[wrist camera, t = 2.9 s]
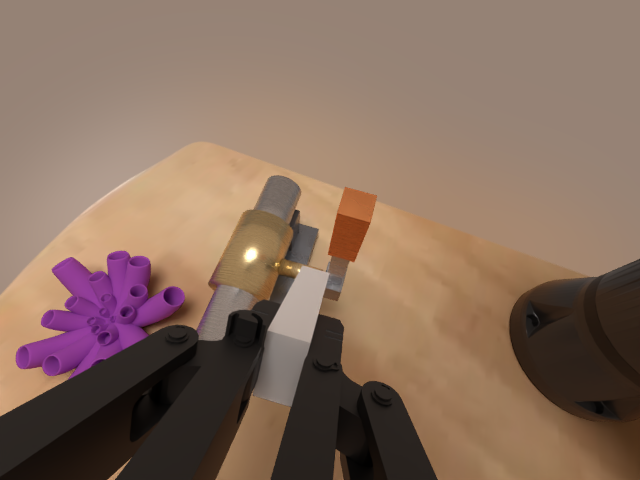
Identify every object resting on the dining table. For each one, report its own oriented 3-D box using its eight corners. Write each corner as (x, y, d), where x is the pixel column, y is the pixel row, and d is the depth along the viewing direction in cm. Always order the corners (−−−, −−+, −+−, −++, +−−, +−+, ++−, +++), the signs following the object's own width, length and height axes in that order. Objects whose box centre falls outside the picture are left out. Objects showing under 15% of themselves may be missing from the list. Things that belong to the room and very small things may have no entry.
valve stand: (291, 384, 32) (291, 373, 23) (205, 356, 33) (170, 335, 23) (334, 239, 41) (347, 188, 31) (265, 220, 42) (257, 164, 32)
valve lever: (338, 301, 30) (369, 226, 18) (318, 295, 30) (335, 217, 18) (344, 277, 31) (377, 191, 19) (325, 271, 31) (346, 183, 19)
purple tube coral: (168, 279, 40) (198, 257, 34) (127, 411, 33) (154, 415, 26) (63, 249, 34) (74, 215, 27) (-17, 404, 27) (-28, 408, 20)
